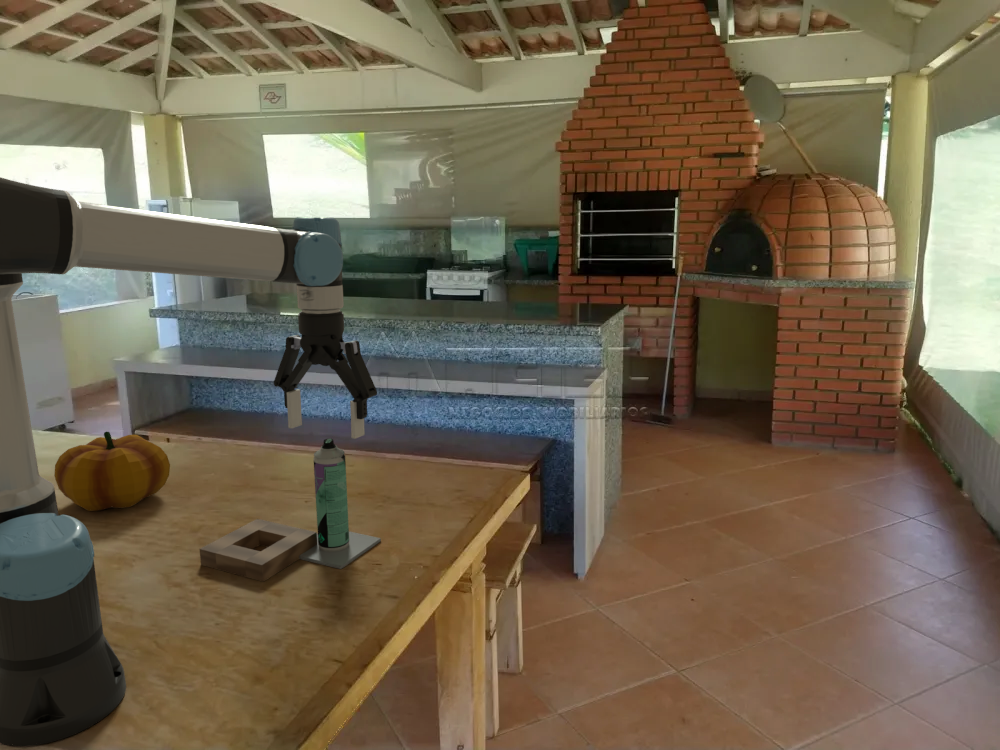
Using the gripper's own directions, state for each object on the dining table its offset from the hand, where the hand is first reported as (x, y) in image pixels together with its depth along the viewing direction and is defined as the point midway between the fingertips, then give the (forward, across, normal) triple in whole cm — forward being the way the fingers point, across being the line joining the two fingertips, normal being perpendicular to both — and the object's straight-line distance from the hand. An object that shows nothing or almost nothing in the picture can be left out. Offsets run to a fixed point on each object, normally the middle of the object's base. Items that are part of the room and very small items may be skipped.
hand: (326, 431), depth 131 cm
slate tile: (+22, 0, +1) cm, 22 cm away
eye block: (+22, -10, -7) cm, 26 cm away
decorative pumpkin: (+23, -56, 0) cm, 60 cm away
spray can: (+22, 0, +1) cm, 22 cm away
